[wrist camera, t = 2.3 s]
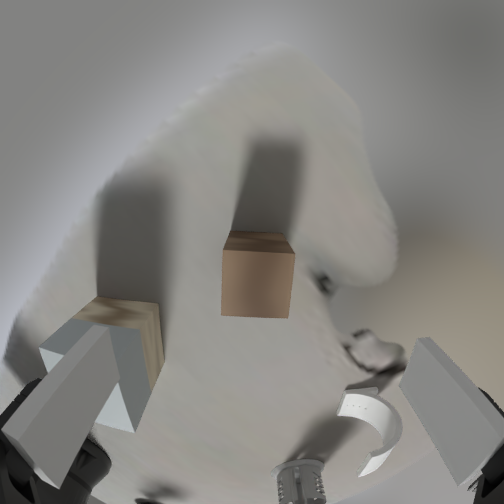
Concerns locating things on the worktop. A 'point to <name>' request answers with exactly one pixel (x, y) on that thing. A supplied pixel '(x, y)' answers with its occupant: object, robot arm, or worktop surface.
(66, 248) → the worktop surface
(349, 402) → the white curved piece
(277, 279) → the walnut block
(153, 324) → the beech block
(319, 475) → the french press
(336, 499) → the worktop surface
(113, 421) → the grey block
